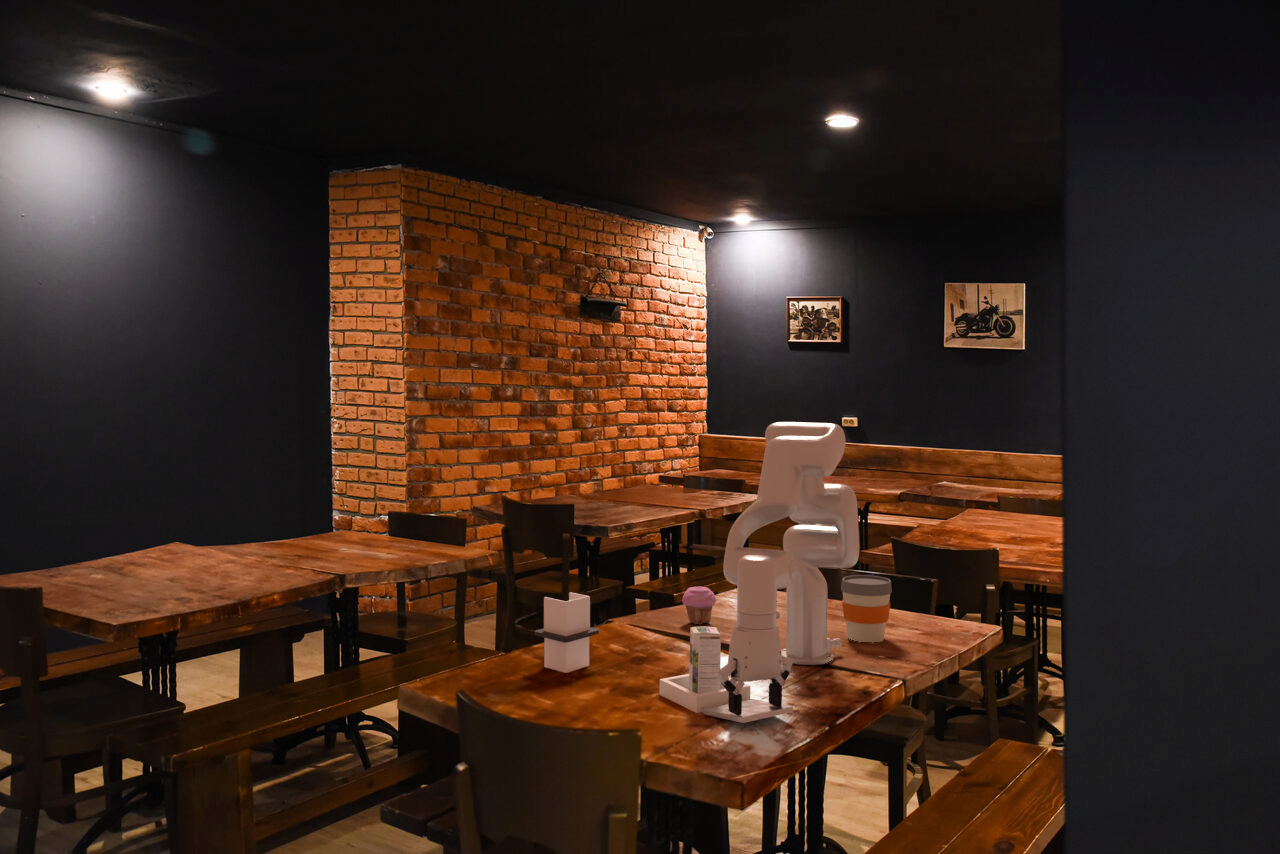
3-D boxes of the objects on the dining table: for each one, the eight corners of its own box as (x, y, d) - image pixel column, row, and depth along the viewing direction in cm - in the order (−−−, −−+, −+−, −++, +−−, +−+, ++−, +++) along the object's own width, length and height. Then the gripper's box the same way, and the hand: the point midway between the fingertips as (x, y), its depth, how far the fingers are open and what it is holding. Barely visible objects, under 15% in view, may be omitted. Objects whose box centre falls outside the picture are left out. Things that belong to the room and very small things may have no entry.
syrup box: (688, 695, 214) (688, 626, 213) (716, 694, 214) (716, 625, 214) (692, 703, 208) (692, 633, 207) (721, 702, 209) (721, 632, 208)
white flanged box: (568, 647, 252) (568, 581, 251) (642, 666, 236) (643, 595, 235) (490, 669, 233) (489, 597, 232) (565, 691, 217) (565, 615, 216)
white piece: (711, 685, 220) (711, 669, 220) (750, 702, 209) (750, 685, 209) (659, 695, 213) (659, 679, 213) (696, 714, 202) (696, 696, 202)
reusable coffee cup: (836, 641, 256) (836, 582, 255) (845, 630, 268) (846, 573, 267) (887, 647, 251) (887, 586, 251) (894, 634, 263) (895, 577, 262)
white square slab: (703, 714, 201) (702, 708, 201) (751, 703, 207) (751, 698, 207) (743, 722, 190) (743, 717, 190) (793, 711, 196) (792, 706, 196)
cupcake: (693, 628, 269) (694, 590, 268) (676, 621, 276) (676, 584, 276) (721, 624, 273) (722, 587, 273) (703, 617, 281) (703, 581, 280)
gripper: (779, 612, 203) (777, 697, 203) (708, 621, 194) (707, 711, 194) (804, 619, 196) (802, 707, 197) (732, 629, 187) (731, 722, 188)
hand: (755, 709), depth 196 cm, fingers open, 9 cm apart
